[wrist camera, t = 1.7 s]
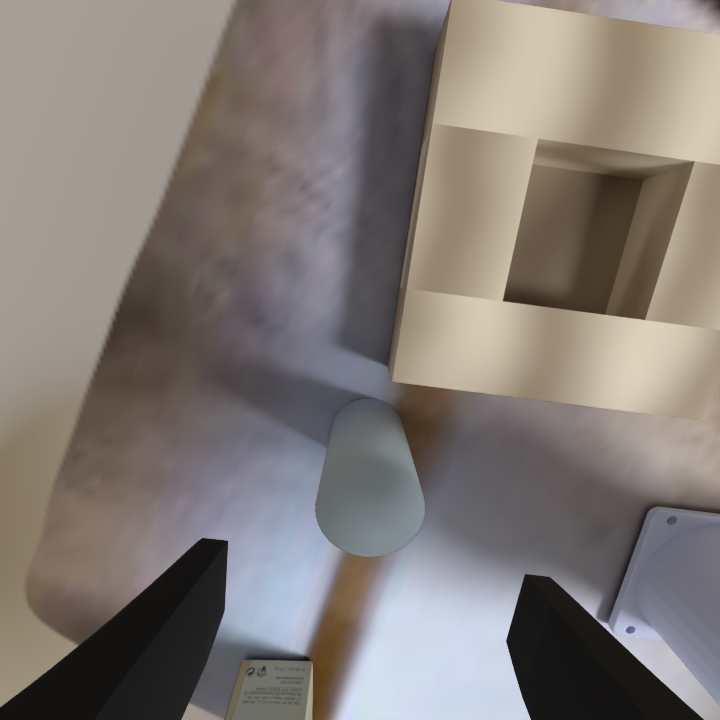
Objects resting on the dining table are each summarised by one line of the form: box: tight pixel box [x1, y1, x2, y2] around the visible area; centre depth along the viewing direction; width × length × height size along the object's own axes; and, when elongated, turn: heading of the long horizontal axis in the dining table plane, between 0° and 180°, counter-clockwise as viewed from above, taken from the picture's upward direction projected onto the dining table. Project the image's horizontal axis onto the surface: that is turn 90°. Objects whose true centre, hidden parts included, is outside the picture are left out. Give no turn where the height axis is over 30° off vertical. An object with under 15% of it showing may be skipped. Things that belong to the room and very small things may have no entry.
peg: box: [315, 398, 425, 557], centre depth 14 cm, size 4×4×6 cm
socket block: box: [387, 0, 720, 421], centre depth 14 cm, size 13×13×3 cm
